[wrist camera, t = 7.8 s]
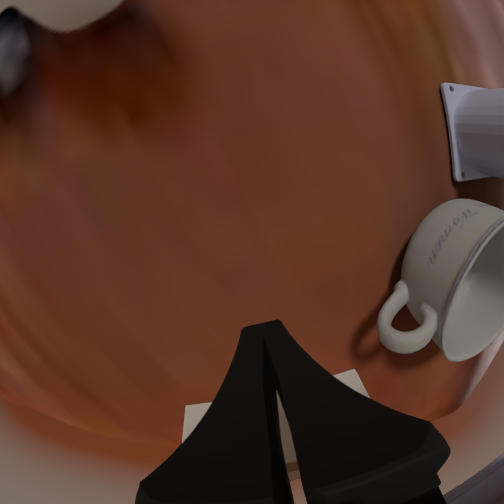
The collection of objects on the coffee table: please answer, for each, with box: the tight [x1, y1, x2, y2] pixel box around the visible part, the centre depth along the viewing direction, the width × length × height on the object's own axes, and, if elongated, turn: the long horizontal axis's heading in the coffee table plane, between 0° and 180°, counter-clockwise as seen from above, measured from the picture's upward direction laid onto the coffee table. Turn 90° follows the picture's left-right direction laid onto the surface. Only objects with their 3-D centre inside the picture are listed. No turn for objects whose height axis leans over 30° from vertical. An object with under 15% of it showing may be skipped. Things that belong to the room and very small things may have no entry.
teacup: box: [377, 199, 504, 362], centre depth 16 cm, size 14×11×8 cm
